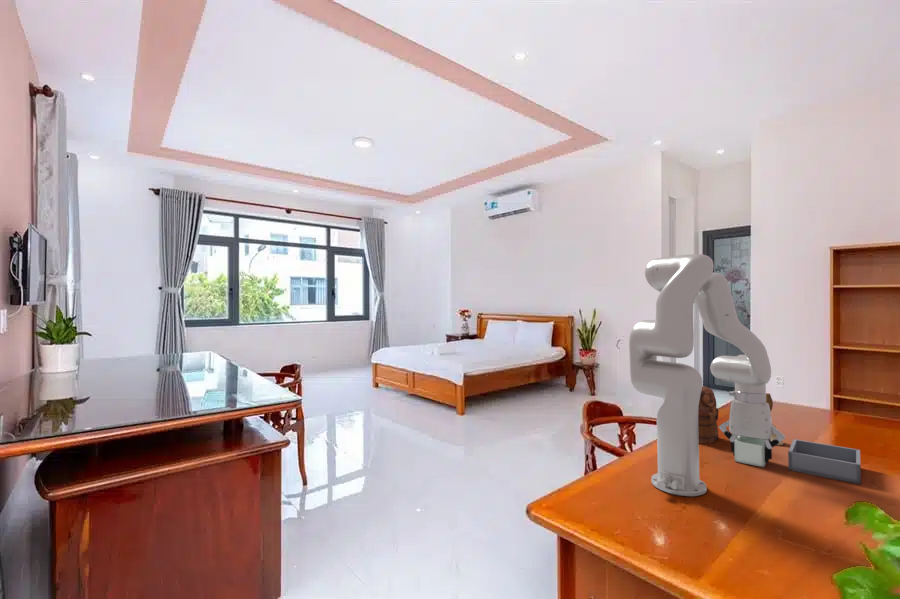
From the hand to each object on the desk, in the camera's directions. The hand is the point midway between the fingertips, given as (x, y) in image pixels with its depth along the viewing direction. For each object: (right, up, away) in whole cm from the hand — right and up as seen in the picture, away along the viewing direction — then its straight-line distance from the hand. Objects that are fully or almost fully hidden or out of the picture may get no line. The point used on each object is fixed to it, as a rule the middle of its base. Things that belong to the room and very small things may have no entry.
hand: (751, 457), depth 127 cm
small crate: (0, -1, 0) cm, 1 cm away
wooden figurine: (-2, -1, +20) cm, 20 cm away
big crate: (+16, -1, -6) cm, 17 cm away
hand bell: (+17, -1, +17) cm, 24 cm away
